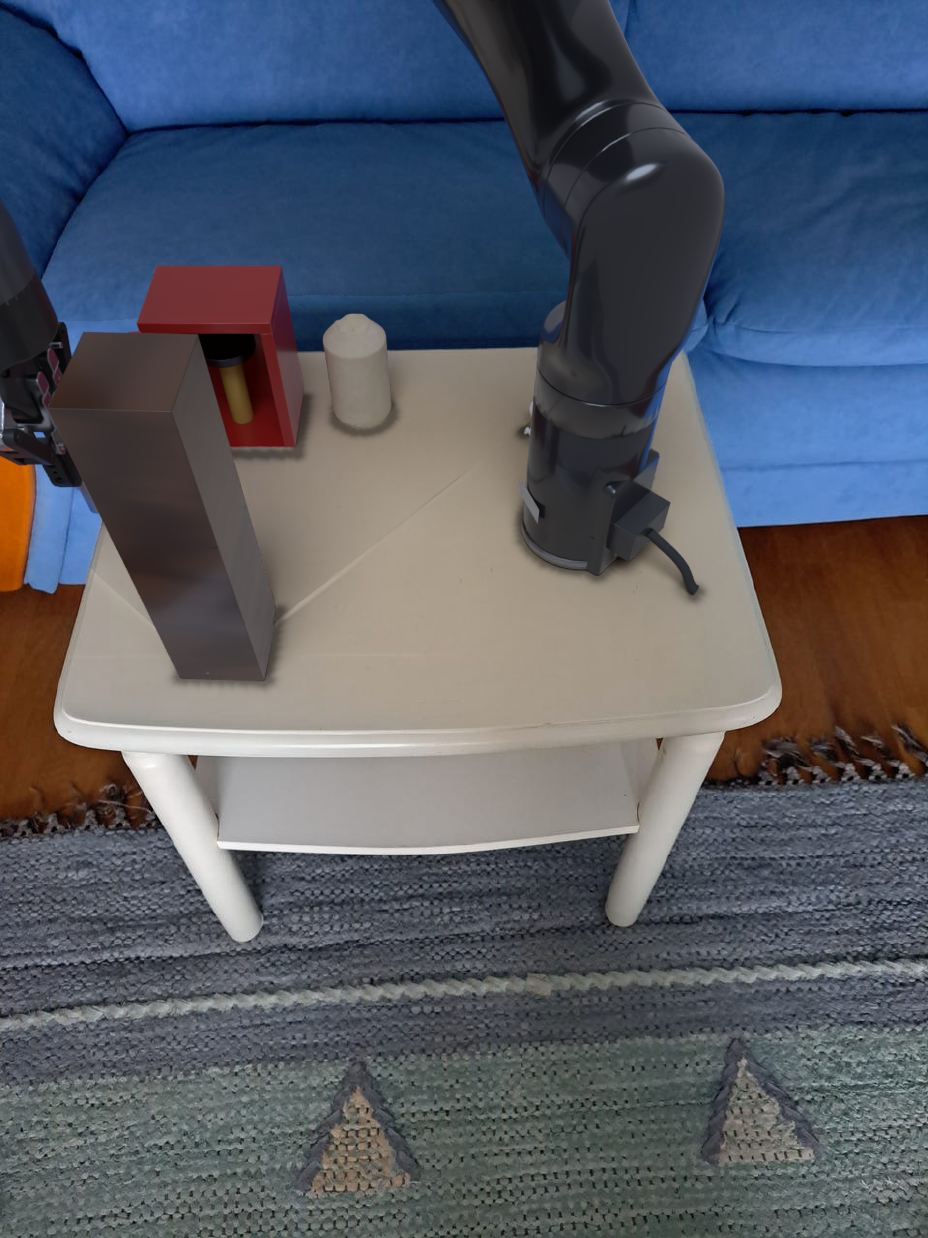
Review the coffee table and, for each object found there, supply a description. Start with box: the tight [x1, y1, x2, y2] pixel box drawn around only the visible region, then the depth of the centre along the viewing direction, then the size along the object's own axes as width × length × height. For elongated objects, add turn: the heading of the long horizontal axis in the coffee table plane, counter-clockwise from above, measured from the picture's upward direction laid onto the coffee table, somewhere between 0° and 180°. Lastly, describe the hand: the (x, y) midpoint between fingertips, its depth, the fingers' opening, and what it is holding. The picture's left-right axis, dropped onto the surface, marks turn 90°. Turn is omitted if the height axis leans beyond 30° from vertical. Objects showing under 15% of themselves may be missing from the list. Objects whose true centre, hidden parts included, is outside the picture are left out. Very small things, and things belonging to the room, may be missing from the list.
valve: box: [198, 334, 256, 424], centre depth 77 cm, size 5×5×8 cm
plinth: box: [48, 331, 277, 682], centre depth 57 cm, size 6×6×26 cm
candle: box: [322, 313, 392, 427], centre depth 79 cm, size 6×6×10 cm
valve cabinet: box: [136, 264, 305, 448], centre depth 76 cm, size 8×10×14 cm
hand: (73, 474), depth 68 cm, fingers closed
